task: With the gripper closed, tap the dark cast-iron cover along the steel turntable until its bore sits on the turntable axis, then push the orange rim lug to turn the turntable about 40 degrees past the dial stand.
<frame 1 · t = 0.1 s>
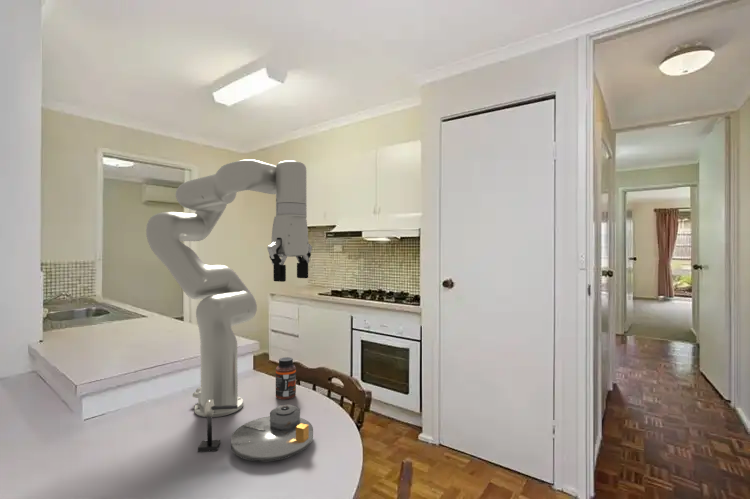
hand: (291, 279, 98), 37 cm above the table, tool pointing down, fingers open, 9 cm apart
dial stand: (209, 448, 87), on the table
turntable: (273, 429, 89), point 3 cm above the table, hinge at 0.0°, touching cover
supplement bottle: (285, 397, 116), on the table
cover: (285, 424, 93), point 3 cm above the table, touching turntable
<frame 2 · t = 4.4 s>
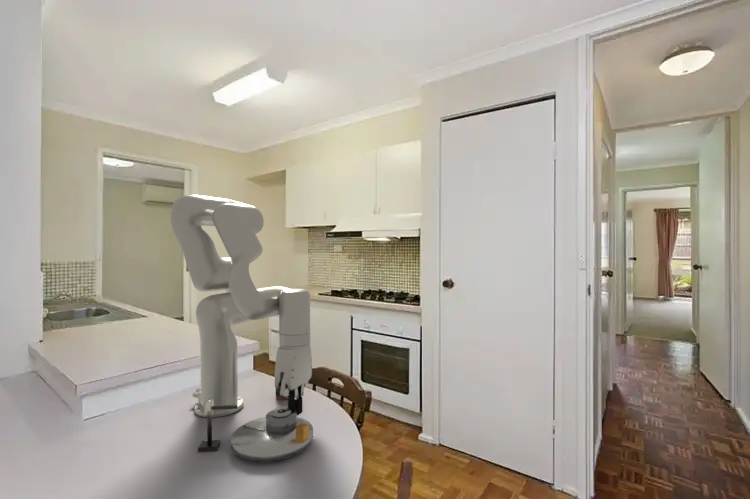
hand: (295, 413, 96), 4 cm above the table, tool pointing down, fingers closed
cover: (281, 427, 92), point 3 cm above the table, touching turntable
everything else where it was.
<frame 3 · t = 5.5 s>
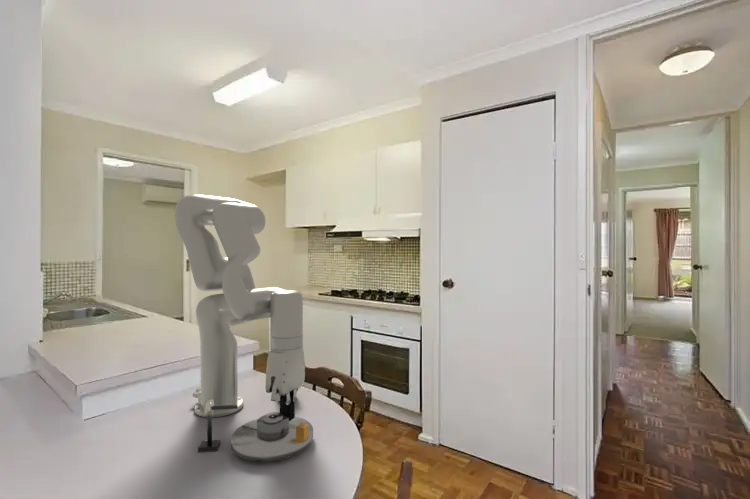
hand: (287, 418, 93), 4 cm above the table, tool pointing down, fingers closed
turntable: (273, 429, 89), point 3 cm above the table, hinge at 0.7°, touching cover
cover: (272, 433, 88), point 3 cm above the table, touching gripper, turntable
everything else where it was.
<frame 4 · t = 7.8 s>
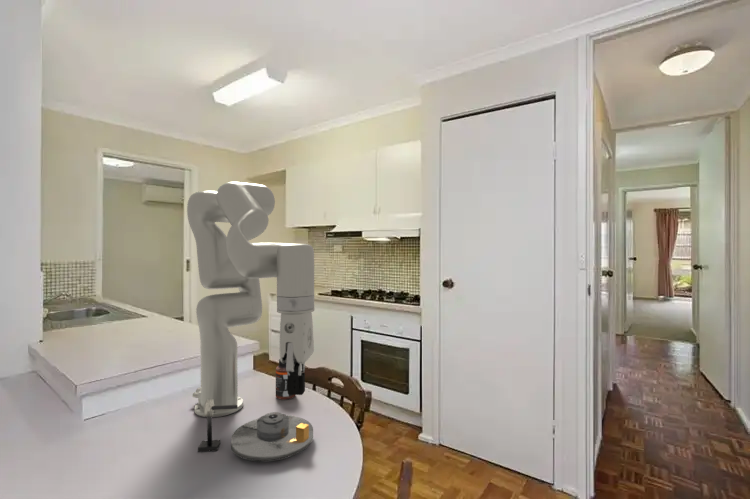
hand: (296, 393, 80), 15 cm above the table, tool pointing down, fingers closed
cover: (272, 433, 88), point 3 cm above the table, touching turntable
everything else where it was.
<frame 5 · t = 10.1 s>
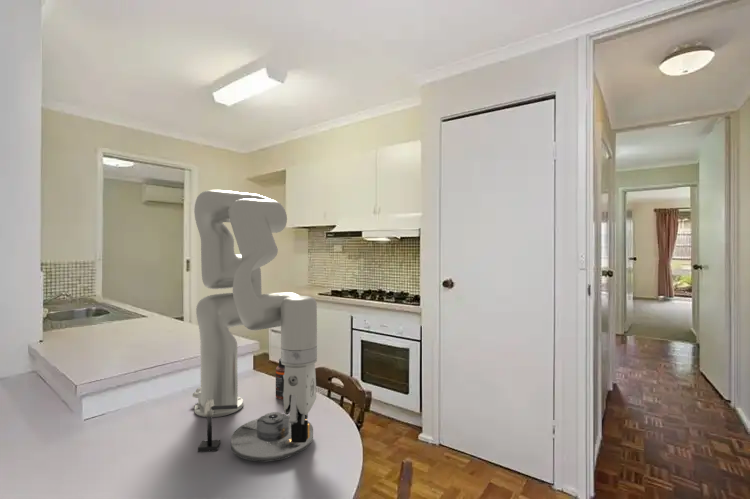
hand: (299, 440, 83), 4 cm above the table, tool pointing down, fingers closed
turntable: (273, 429, 89), point 3 cm above the table, hinge at 3.4°, touching cover, gripper
everything else where it was.
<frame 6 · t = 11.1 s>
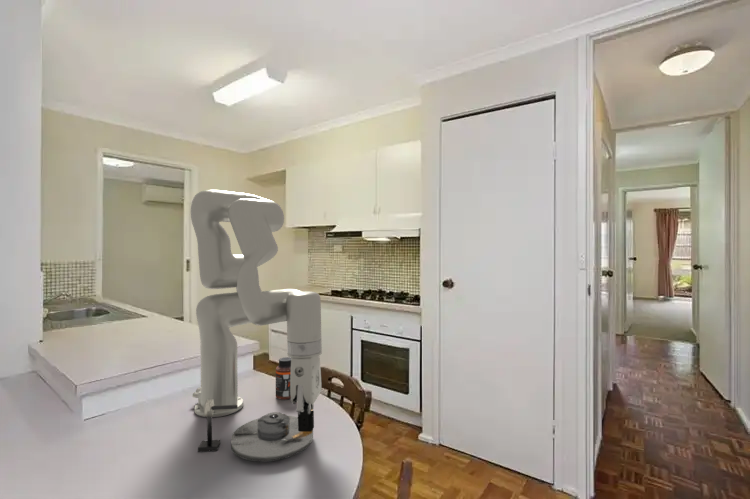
hand: (306, 429, 87), 4 cm above the table, tool pointing down, fingers closed
turntable: (273, 429, 89), point 3 cm above the table, hinge at 29.1°, touching cover, gripper
everything else where it was.
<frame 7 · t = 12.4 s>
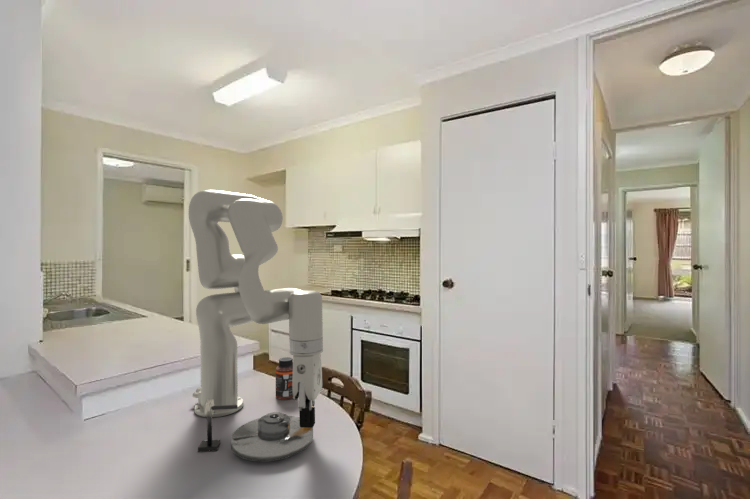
hand: (307, 425, 89), 4 cm above the table, tool pointing down, fingers closed
turntable: (273, 429, 89), point 3 cm above the table, hinge at 44.5°, touching cover, gripper
everything else where it was.
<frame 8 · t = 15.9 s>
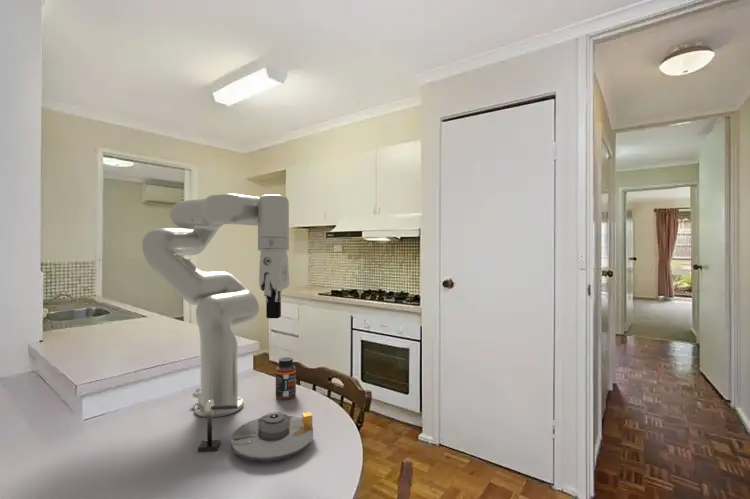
hand: (273, 317, 98), 27 cm above the table, tool pointing down, fingers closed
turntable: (273, 429, 89), point 3 cm above the table, hinge at 44.5°, touching cover
everything else where it was.
at the end: cover 0.3 cm from the turntable (horizontally); turntable at +44° (first picture: +0°); cover tilted 1° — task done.
